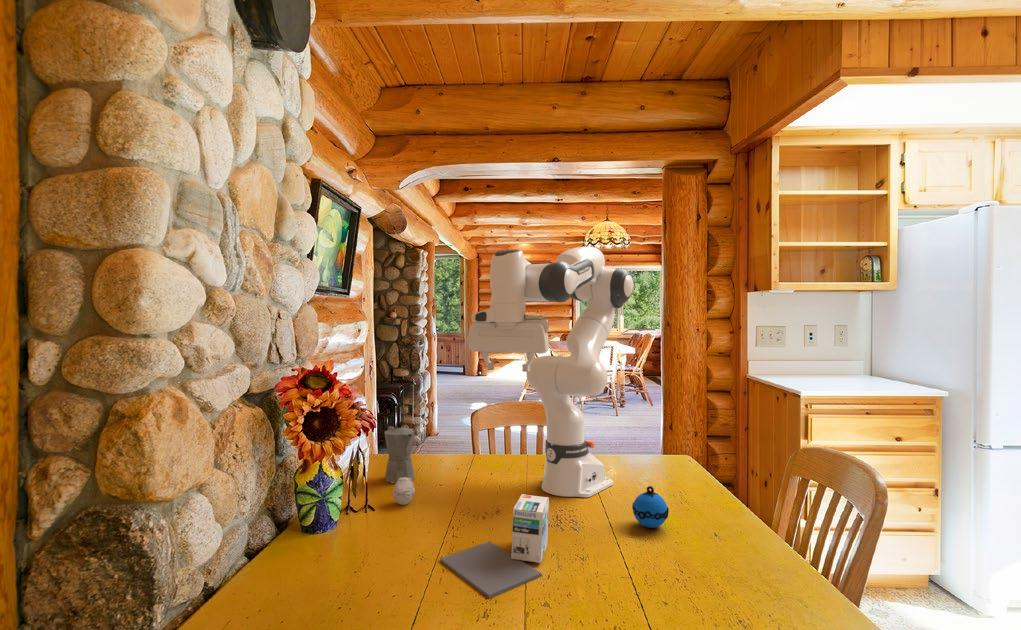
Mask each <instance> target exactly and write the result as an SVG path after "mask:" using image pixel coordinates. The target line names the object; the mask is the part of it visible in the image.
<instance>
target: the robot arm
mask: <svg viewBox="0 0 1021 630" xmlns="http://www.w3.org/2000/svg"><path fill="white" fill-rule="evenodd" d="M490 261H491V262H490V268H489V270H490V272H489V287H490V289H491V297H490V300H489V308H486V309H483V310H480V311H476V312H474V313H472V314H471V318H470V319H471V321H472V322H473V323H471V324H470V327H469V329H468V338H467V346H468V347H467V348H468V349H469V351H470V352H477V353H478V352H479V353H481V357H482V358H483V361H484V363H485V367H486V369H485V370H487V371H494V370H495V362H492V361H491V358H489V356H491V353H508V354H509V353H515V354H516V353H517V354H526V358H527V361H526V362H525V363H523V364H521V366H522V369H521V371H522V372H523V373H524V372H526V378H527V382H528V384H529V385H530V387H532V388H533V389H534V390H535V392H536V393H537V395H538V397H539V398H540V399H539V400H541V403H542V405H543V408H544V412H545V420H546V440H545V443H544V444H545V445H544V446H545V448H544V450H545V462H544V463H545V464H544V473H543V477H542V484H541V486H540V487H541V490H542V491H543V492H545V493H547V494H549V495H554V496H557V497H570V498H571V497H578V498H590V497H592V496H594V495H596V494H597V493H600V492H602V491H604V490H605V489H607V488H609V487H611V486H613V485H614V480H612V478H611V477H609V476H606V468H605V465H604V463H603V462H601V461H600V460H599V459H598V458H596V457H595V456H594V455H593V454H592V453H590V451H589V448H591V449H594V448H595V446H596V443H595V441H592V440H589V439H588V440H587V441H586V440H585V415H584V413H583V411H581V409H579V408H578V407H577V406H576V405H575V404H574V403H573V401H572V398H571V397H570V396H575V397H594V396H600V395H601V394H602V393H603V392H604V390H605V389H606V387H607V385H608V372H607V370H606V367H605V366H604V364H603V363H602V362H601V361H600V355H601V352H602V350H603V347H604V346H605V343H606V341H607V339H608V337H609V335H610V333H611V330H612V327H613V326H614V322H615V317H616V315H615V309H616V310H617V309H620V308H622V307H623V306H624V304H625V303H627V301H629V299H630V298H631V297H632V295H633V293H634V287H635V285H634V284H635V283H634V276H633V275H632V273H631V272H630V271H629V270H626V269H623V268H619V267H618V268H613V267H611V268H610V267H605V266H606V259H605V255H604V253H603V252H602V251H601V250H600V249H598V248H596V247H594V246H577V247H573V248H570V249H566V250H564V251H563V252H561V253H559V254H558V256H557V257H556V259H555V262H550V263H548V262H547V263H532V262H529V261H528V260H526V258H525V256H524V251H523V250H521V249H517V248H513V249H512V248H511V249H504V250H503V249H502V250H498V251H495V252H494V253H493V255H492V257H491V260H490ZM569 299H572V300H575V301H580V302H582V301H583V302H587V305H586V308H584V310H583V311H582V312H581V314H580V315H579V316H578V318H577V319H576V321H575V323H574V325H573V326H572V328H571V329H570V331H569V333H568V335H567V336H566V339H565V342H566V345H565V346H566V348H567V349H568V351H569V353H570V354H571V355H570V356H560V355H559V356H558V355H542V356H538V357H537V356H536V357H535V354H540V355H541V354H545V353H547V352H548V350H549V349H550V347H549V345H550V344H549V337H548V332H549V329H550V327H549V325H550V323H549V320H548V318H546V317H545V316H543V315H542V314H538V315H535V314H533V315H532V314H527V312H526V310H527V309H526V306H527V304H526V302H552V303H565V302H567V301H569Z"/></svg>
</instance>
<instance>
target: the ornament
mask: <svg viewBox="0 0 1021 630" xmlns="http://www.w3.org/2000/svg"><path fill="white" fill-rule="evenodd" d="M631 508H632V513H633V515H634V518H635V520H636V521H637V522H638V523H639V524H641V526H643V527H645V528H648V529H649V528H650V529H653V528H659V527H660V526H662V525H663V524H664V523H665V522H666V520H667V519H668V517H669V511H670V510H669V507H668V505H667V503H666V501H665V499H664V498H663V496H661V495H660V494H658V493H657V492H655V488H654V487H653V486H651V485H649V486H647V487H646V491H645V492H642V493H640V494H639V495H637V497H635V499H634V501H633V502H632V507H631Z"/></svg>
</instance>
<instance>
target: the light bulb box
mask: <svg viewBox="0 0 1021 630" xmlns="http://www.w3.org/2000/svg"><path fill="white" fill-rule="evenodd" d="M549 508H550V498H549V497H548V496H538V495H532V494H531V495H530V494H526V493H525V494H523V493H522V494H521V495H520V496H519V498H518V500H517V502H516V503H515V505H514V507H513V509H512V533H511V535H512V536H511V553H510V554H511V559H516V560H521V561H523V562H531V563H532V562H533V563H538V564H540V563H542V560H543V558H544V555H545V552H546V549H547V546H548V531H549V530H548V529H549V510H550V509H549Z"/></svg>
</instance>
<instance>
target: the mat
mask: <svg viewBox="0 0 1021 630" xmlns="http://www.w3.org/2000/svg"><path fill="white" fill-rule="evenodd" d="M511 554H512V553H509V552H508V551H506V550H505V549H503V548H502V547H500V546H498V545H497V544H495V543H494V542H491V541H489V540H488V541H485V542H484V543H480V544H478V545H475V546H473V547H468V548H466V549H464V550H461V551H457V552H455V553H451V554H449V555H446V556H443V557H440V559H439V560H440V561H439V562H440V563H441V564H443V563H444V564H443V565H444V566H446V567H447V568H449V569H450V570H452V571H453V572H454V573H455V574H457V576H459V577H460V578H461V579H463V580H464V581H466V582H467V583H469V584H470V585H471V586H473V587H474V588H475V589H476V590H478V591H479V592H481V593H482V595H484V596H486V597H487V598H488V599H491V598H494V597H496V596H499V595H500V594H503V593H505V592H508V591H510V590H512V589H515V588H517V587H519V586H521V585H524V584H527V583H528V582H531V581H533V580H536V579H538V578H540V577H542V576H543V575H542V572H540V571H539V570H538V569H535V568H534V567H532V566H531V565H530V564H527V563H526V562H525V561H523V560H516V559H511Z"/></svg>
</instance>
